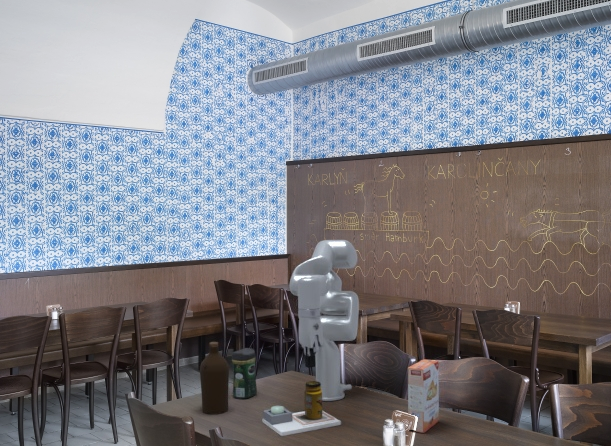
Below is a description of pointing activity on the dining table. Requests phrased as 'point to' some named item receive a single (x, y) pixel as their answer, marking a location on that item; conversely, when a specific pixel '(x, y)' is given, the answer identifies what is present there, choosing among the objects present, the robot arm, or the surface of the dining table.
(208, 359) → the olive oil
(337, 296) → the robot arm
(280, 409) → the button
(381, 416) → the dining table surface
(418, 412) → the cracker box
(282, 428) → the board
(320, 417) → the condiment
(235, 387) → the coffee jar
